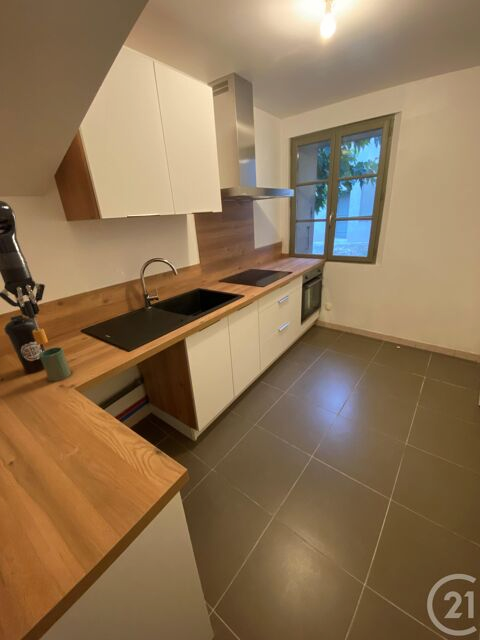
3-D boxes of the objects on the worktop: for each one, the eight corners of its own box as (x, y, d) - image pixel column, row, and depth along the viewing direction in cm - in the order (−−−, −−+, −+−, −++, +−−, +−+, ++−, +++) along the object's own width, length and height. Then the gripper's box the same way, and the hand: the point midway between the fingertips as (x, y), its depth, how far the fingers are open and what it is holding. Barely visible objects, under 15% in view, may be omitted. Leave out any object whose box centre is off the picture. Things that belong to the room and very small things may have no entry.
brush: (35, 345, 95) (18, 303, 89) (39, 341, 98) (23, 300, 92) (45, 343, 96) (30, 302, 90) (49, 339, 99) (34, 299, 93)
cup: (45, 383, 100) (35, 358, 96) (52, 373, 106) (43, 349, 102) (67, 379, 101) (58, 354, 97) (73, 369, 108) (65, 345, 104)
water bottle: (25, 377, 105) (2, 324, 96) (20, 368, 111) (-2, 318, 103) (54, 366, 111) (35, 316, 103) (48, 359, 118) (30, 311, 109)
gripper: (32, 262, 94) (48, 307, 100) (-18, 269, 83) (3, 319, 89) (41, 262, 90) (57, 310, 96) (-11, 270, 79) (11, 323, 85)
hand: (31, 314), depth 93 cm, fingers closed on brush, 2 cm apart
